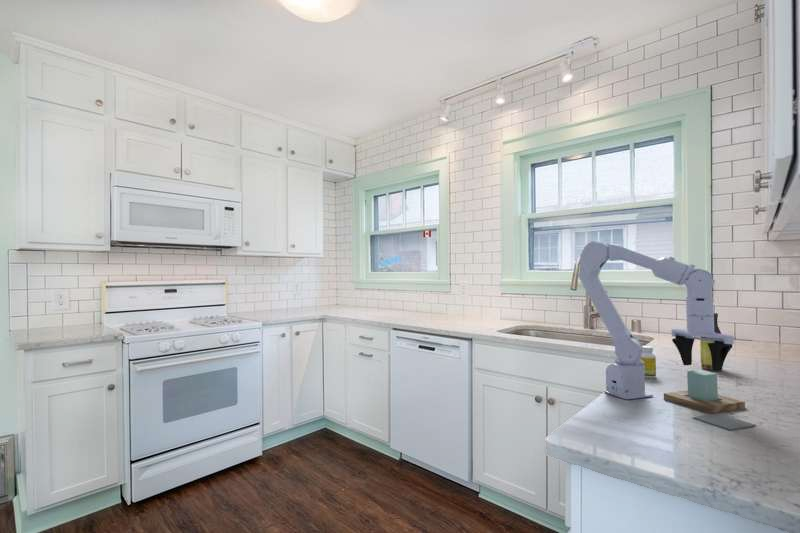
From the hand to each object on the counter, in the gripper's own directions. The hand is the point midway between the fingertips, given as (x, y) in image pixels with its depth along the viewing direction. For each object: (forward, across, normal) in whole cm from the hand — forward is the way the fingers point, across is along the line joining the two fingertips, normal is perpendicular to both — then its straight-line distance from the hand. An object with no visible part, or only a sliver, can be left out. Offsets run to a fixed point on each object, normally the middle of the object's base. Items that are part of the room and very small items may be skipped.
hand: (701, 368), depth 104 cm
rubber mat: (+9, -11, +9) cm, 17 cm away
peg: (+9, 0, 0) cm, 9 cm away
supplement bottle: (+9, +26, -12) cm, 30 cm away
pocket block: (+9, 0, 0) cm, 9 cm away
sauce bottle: (+9, +26, -42) cm, 50 cm away
